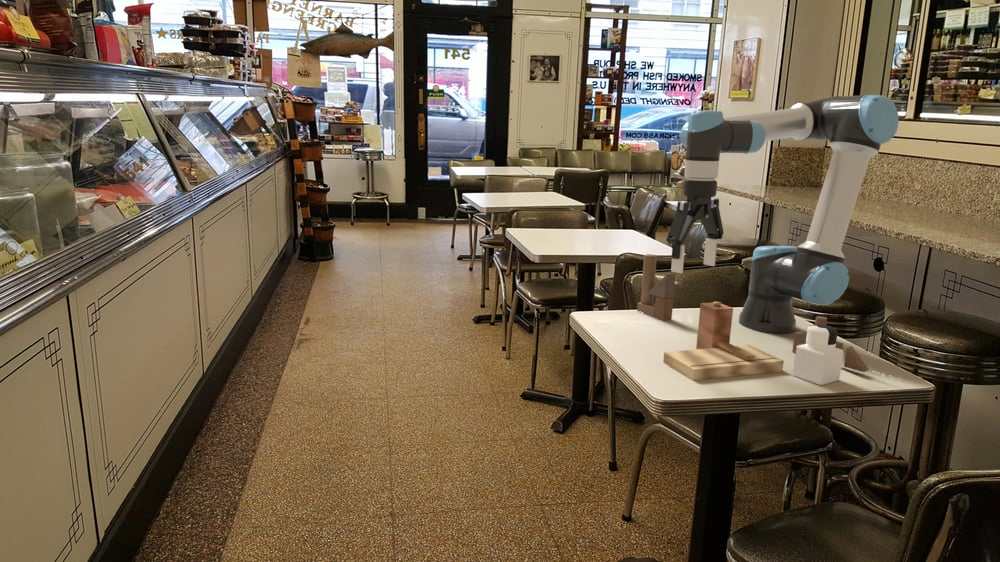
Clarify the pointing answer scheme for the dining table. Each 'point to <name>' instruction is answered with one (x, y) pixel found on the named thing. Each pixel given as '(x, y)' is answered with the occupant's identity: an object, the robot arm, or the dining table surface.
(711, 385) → the dining table surface
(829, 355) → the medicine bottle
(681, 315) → the dining table surface
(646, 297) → the wooden post assembly
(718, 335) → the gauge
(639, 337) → the dining table surface
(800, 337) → the wood blocks
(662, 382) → the dining table surface
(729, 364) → the board
